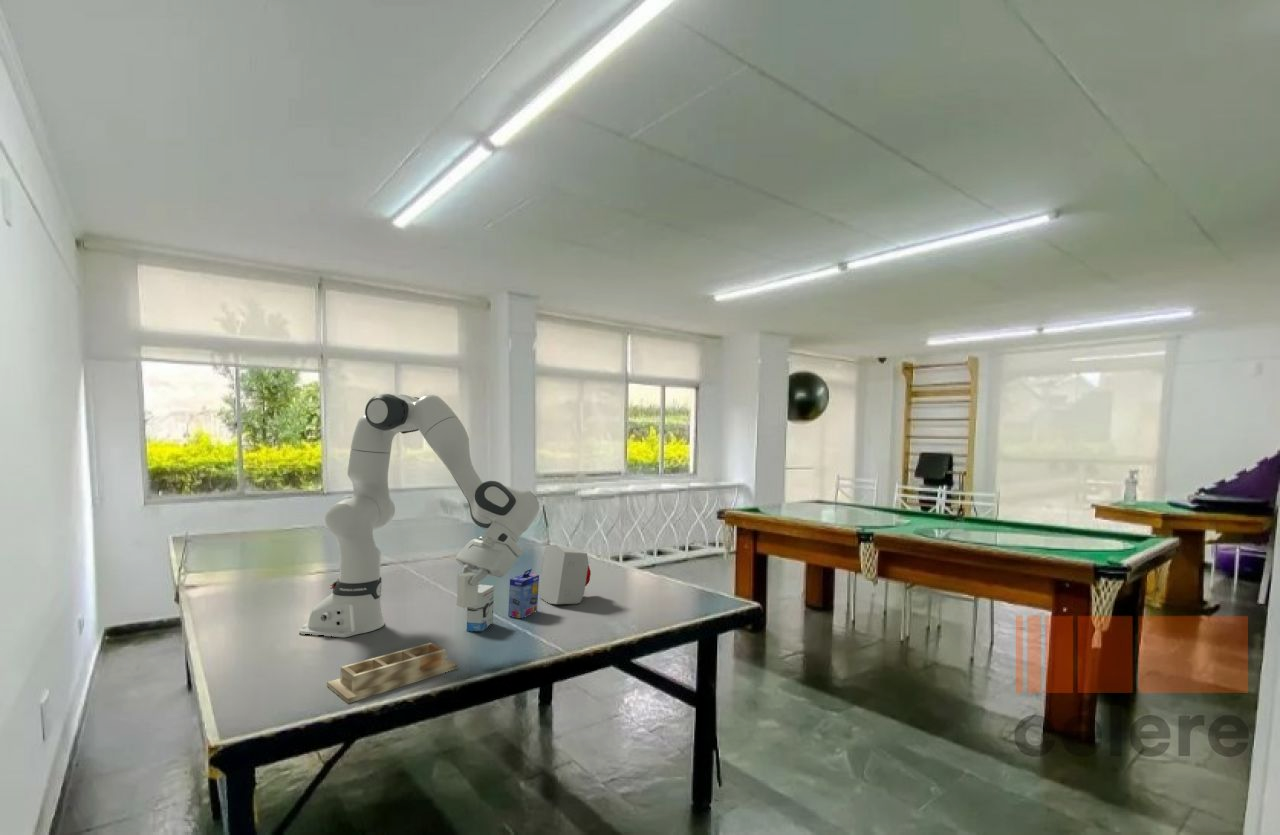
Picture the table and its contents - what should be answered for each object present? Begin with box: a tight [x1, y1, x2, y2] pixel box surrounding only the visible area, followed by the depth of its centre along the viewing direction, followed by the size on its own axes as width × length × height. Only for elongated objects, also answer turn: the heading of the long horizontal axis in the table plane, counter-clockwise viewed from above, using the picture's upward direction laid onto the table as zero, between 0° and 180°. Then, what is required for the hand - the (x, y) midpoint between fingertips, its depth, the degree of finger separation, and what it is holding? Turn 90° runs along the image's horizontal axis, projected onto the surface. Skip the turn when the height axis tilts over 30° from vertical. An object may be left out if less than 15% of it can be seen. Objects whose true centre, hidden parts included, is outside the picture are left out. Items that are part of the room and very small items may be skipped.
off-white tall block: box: [456, 571, 479, 609], centre depth 152 cm, size 4×4×8 cm
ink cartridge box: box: [507, 568, 540, 619], centre depth 188 cm, size 10×6×14 cm, turn 158°
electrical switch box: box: [538, 544, 591, 605], centre depth 206 cm, size 15×15×20 cm
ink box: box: [466, 584, 495, 632], centre depth 174 cm, size 8×5×12 cm, turn 168°
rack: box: [326, 642, 458, 704], centre depth 137 cm, size 26×12×4 cm, turn 138°
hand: (465, 582), depth 152 cm, fingers closed on off-white tall block, 3 cm apart
